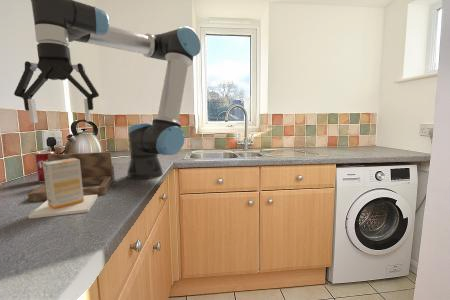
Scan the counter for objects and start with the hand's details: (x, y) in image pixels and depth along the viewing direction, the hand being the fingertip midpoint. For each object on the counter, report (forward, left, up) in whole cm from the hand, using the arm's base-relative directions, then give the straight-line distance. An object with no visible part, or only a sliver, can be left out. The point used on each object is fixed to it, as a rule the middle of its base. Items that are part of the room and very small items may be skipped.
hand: (62, 122), depth 72 cm
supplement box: (+1, +1, -24) cm, 24 cm away
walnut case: (+2, -18, -25) cm, 31 cm away
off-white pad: (0, +1, -25) cm, 25 cm away
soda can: (+17, -37, -25) cm, 48 cm away
